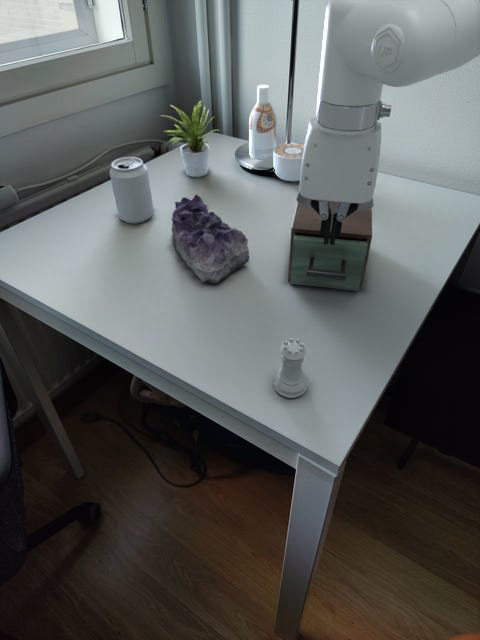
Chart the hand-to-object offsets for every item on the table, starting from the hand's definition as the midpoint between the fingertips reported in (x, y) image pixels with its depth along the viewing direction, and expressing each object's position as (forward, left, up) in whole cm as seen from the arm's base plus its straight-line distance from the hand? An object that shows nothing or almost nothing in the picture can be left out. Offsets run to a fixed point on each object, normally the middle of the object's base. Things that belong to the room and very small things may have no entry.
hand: (329, 239), depth 70 cm
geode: (+23, -9, -12) cm, 27 cm away
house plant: (+35, -46, -11) cm, 59 cm away
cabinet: (0, -11, -11) cm, 16 cm away
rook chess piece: (+3, +20, -11) cm, 23 cm away
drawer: (0, -6, -10) cm, 12 cm away
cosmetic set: (+11, -46, -11) cm, 48 cm away
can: (+41, -21, -11) cm, 47 cm away
